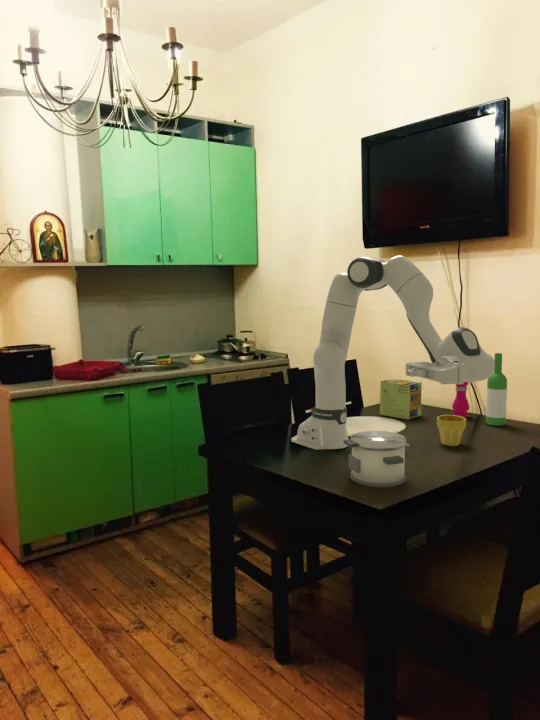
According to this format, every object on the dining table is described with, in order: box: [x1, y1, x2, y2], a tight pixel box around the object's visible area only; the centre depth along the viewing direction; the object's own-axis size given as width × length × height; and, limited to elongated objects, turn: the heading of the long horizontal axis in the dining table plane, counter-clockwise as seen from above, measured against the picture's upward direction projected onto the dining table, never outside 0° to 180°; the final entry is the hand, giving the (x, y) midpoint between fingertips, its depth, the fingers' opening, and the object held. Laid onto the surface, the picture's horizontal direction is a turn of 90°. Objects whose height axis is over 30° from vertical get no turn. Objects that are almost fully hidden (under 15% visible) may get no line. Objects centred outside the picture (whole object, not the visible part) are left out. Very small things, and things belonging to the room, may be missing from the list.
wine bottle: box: [485, 352, 508, 427], centre depth 240 cm, size 8×8×30 cm
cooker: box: [348, 442, 412, 489], centre depth 178 cm, size 18×21×11 cm
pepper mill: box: [451, 382, 470, 419], centre depth 255 cm, size 7×7×20 cm
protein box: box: [379, 378, 423, 420], centre depth 260 cm, size 10×15×16 cm
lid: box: [343, 430, 407, 450], centre depth 176 cm, size 19×17×2 cm
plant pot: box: [436, 414, 467, 447], centre depth 214 cm, size 10×10×10 cm
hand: (408, 373), depth 177 cm, fingers closed
